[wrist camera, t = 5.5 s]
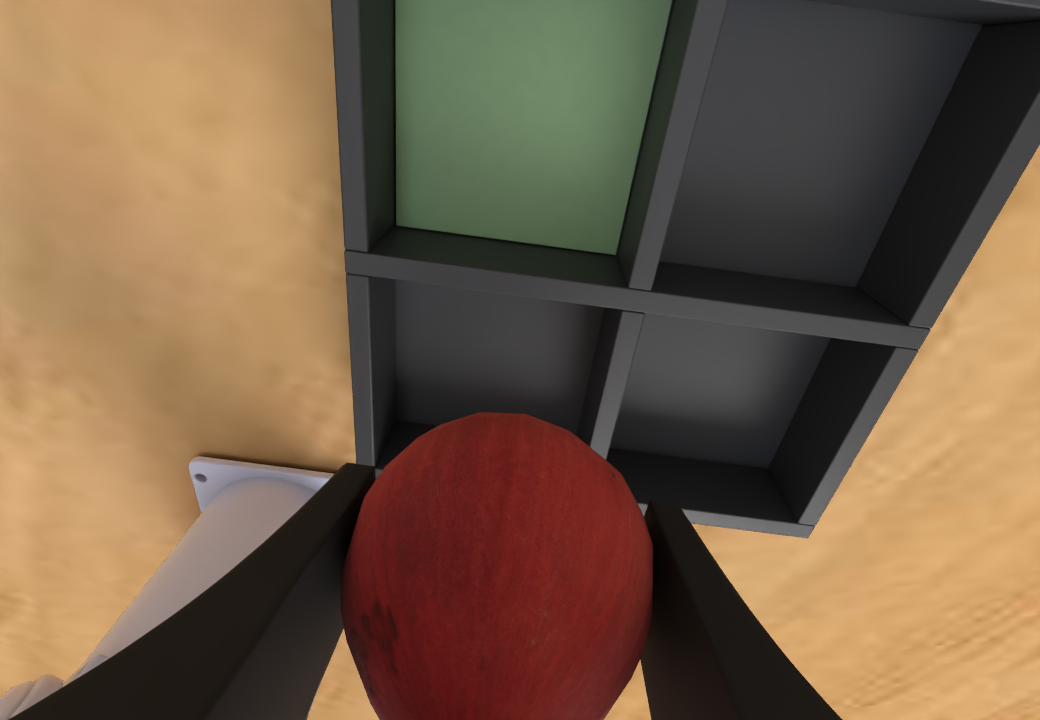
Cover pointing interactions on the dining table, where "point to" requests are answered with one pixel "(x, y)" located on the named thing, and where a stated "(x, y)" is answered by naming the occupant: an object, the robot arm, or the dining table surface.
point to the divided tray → (669, 223)
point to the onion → (497, 577)
